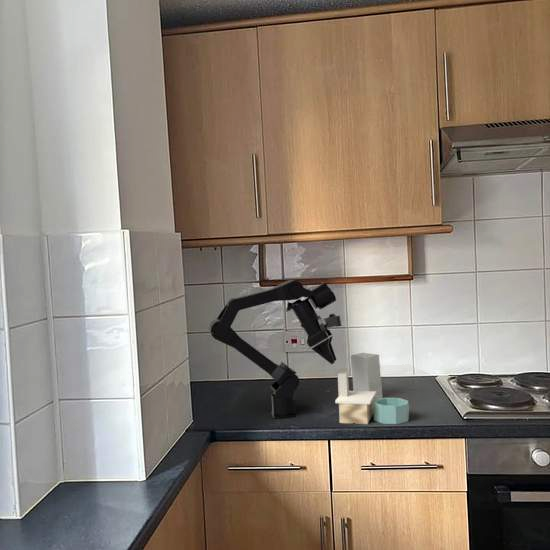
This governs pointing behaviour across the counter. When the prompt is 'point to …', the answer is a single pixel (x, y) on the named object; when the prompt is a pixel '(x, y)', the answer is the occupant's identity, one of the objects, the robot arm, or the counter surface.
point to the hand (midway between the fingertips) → (334, 362)
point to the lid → (352, 393)
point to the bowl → (391, 410)
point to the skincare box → (366, 373)
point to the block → (355, 413)
